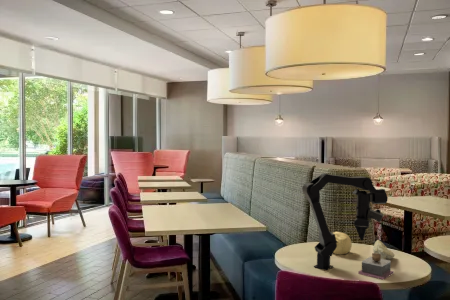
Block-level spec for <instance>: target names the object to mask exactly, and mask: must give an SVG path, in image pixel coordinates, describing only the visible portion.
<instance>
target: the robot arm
mask: <svg viewBox="0 0 450 300" xmlns="http://www.w3.org/2000/svg"><path fill="white" fill-rule="evenodd" d="M328 183H330V184H338V185H345V186H351V187H354V188H356V189H355V190H354V191H352V195H353V194H354V195H356V215H355V219H354V221H353V225H354V227H355V230H356V231H357V234H358V237H359V239H360V240H361V241H364V238H365V236H366V231H367V229H368V228H369V227H370V223H371V220H372V219H373V220H374V221H377V222H378V223H381V222H382V219H383V218H384V214H383V213H382V212H381V209H378V208H376V210H374V209H372V206H371V204H373V205H376V204H377V205H385V204H387V203H388V199H389V198H388V194H387V192H386V189H385V188H377V189H376V187H375V185H374V184H373V180H372V179H371V178H370V177H367V176H364V175H360V176H359V175H357V176H356V175H354V176H343V175H337V174H330V173H329V174H328V173H325V172H323V173H321V174H320V175H319V176H317V177H315V178H313V179H311V180H310V181H308V182H306V183H304V184H303V186H302V188H301V191H302V193H303V195H304V196H305V198H306V199H307V201H308V203H309V204H310V207H311V210H312V214H313V217H314V221H315V223H316V226H317V230H318V241H319V242H318V243H316V245H315V246H314V250H315V252H316V253H317V254H316V264H315V265H314V266H313V267H314V268H317V269H320V270H324V271H327V270H330V269H333V268H334V265H331V257H333V254H334V253H333V252H334V250H335V249H336V247H337V244H336V243H338V242H337V241H336V237H335V234H333V232H332V231H330V230H329V227H328V224H327V221H326V217H325V214H324V211H323V209H322V204H321V201H320V200H321V199H320V198H321V194H320V191H322V190H323V189H324V188H325V187H326V186H327V184H328ZM359 189H361V190H359Z"/></svg>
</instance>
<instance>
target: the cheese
mask: <svg viewBox="0 0 450 300" xmlns="http://www.w3.org/2000/svg"><path fill="white" fill-rule="evenodd" d="M372 253H379V254H381V259H385V260H390V261H391V260H392V259H394V258H395V256H396V255H395V254H394V251H392V250H390V249H388V247H387V246H386V245H385V243H383V242H382V241H381V240H380V239H377V240H376V241H375V242H374V244H373V248H372Z"/></svg>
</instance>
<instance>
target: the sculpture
mask: <svg viewBox="0 0 450 300" xmlns="http://www.w3.org/2000/svg"><path fill="white" fill-rule="evenodd" d="M332 233H333V234H335V237H336V241H337V242H338V243H336V244H337V247H336V249H335V250H334V252H333V254H335V255H345V254H347V253H350V252H351V249H352V239H351V238H350V236H349V235H348V234H347V233H345V232H342V231H334V232H332Z"/></svg>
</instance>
